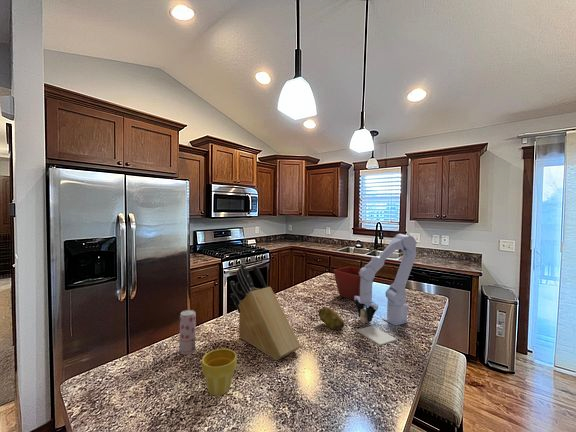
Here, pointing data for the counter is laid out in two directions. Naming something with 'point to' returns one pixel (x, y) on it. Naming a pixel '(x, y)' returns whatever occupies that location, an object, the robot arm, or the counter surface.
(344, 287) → the plant pot
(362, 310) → the green-faced wooden block
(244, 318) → the knife block
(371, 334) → the mat
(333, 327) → the potato
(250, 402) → the counter surface
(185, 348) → the beverage can
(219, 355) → the plant pot
